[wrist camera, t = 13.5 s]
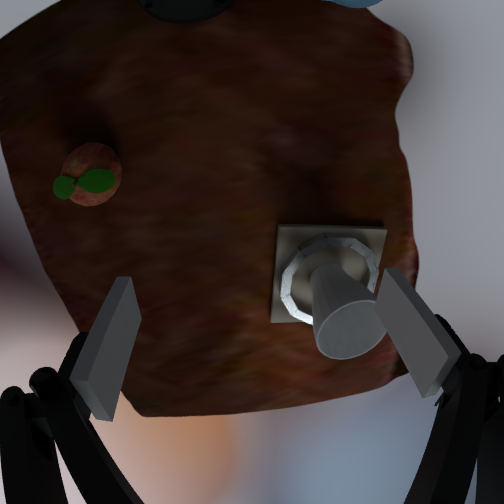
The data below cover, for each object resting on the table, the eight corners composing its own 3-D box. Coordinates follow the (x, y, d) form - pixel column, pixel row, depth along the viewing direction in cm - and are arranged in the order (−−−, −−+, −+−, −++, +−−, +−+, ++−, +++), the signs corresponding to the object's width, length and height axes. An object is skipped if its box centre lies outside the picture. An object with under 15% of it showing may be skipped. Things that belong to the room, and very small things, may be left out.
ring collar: (284, 231, 44) (286, 236, 43) (382, 233, 46) (387, 238, 44) (275, 319, 52) (276, 326, 50) (361, 314, 53) (364, 320, 52)
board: (278, 223, 45) (279, 226, 44) (384, 226, 47) (387, 229, 46) (270, 318, 53) (270, 322, 52) (361, 313, 55) (364, 317, 54)
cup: (302, 311, 52) (321, 368, 40) (289, 261, 47) (309, 315, 35) (358, 293, 51) (389, 344, 39) (352, 241, 46) (389, 288, 34)
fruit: (75, 140, 37) (40, 152, 28) (133, 137, 38) (107, 146, 29) (78, 195, 40) (47, 218, 31) (134, 195, 41) (111, 219, 32)
